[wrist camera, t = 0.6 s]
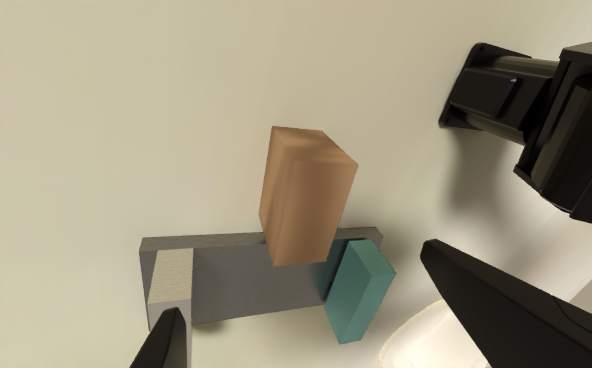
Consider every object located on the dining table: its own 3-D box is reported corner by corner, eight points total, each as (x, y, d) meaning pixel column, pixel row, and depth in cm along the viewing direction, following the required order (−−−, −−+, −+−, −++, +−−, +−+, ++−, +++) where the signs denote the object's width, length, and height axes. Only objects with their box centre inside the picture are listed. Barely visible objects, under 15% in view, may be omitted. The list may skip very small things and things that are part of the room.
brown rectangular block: (321, 130, 20) (358, 165, 16) (301, 213, 24) (325, 261, 19) (271, 125, 19) (295, 161, 14) (258, 214, 23) (273, 266, 18)
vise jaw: (370, 239, 26) (396, 273, 23) (343, 304, 31) (360, 339, 27) (348, 241, 25) (372, 276, 22) (323, 307, 30) (339, 344, 26)
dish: (460, 349, 60) (506, 408, 51) (364, 381, 52) (398, 457, 43) (515, 276, 47) (590, 337, 38) (400, 304, 40) (458, 389, 31)
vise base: (375, 227, 28) (412, 271, 23) (348, 289, 33) (374, 336, 28) (142, 237, 21) (123, 306, 16) (151, 316, 25) (139, 388, 20)
